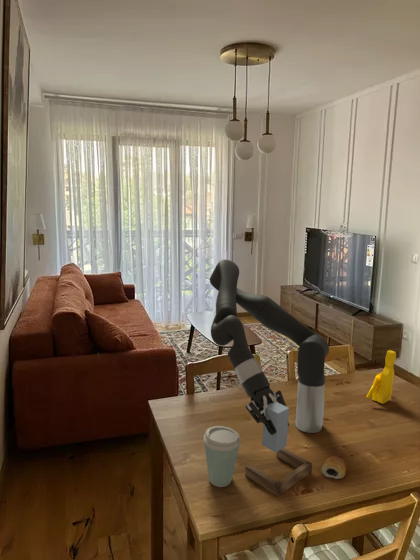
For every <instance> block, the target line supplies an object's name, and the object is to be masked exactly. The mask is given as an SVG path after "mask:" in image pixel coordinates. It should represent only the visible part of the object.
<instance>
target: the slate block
mask: <svg viewBox="0 0 420 560" xmlns="http://www.w3.org/2000/svg"><path fill="white" fill-rule="evenodd" d="M266 409H267V413H268V415H269V418H270V419H269V420H271V421H272V423H273V425H274V427H275V429H276V431H277V433H275V434H273V435H271V434H270V433H269V432H268V430H267V428H266V426H265V425H264V423H262V437H261V438H262V440H261V445H262V446H263V447H265V448H267V449H268V450H270V451H272V452H274V453H277V451H279V450H281V449H282V448H284V449H285V448H286V447H287V445H288V444H287V442H288V430H289V429H288V428H289V426H288V422H289V419H290V417H289V416H290V407H288V406H287V405H286V406H284V405H282V404H280V403H278V402H276V403H271V404H269V405H268V406H267V407H266ZM264 417H265V415H264Z"/></svg>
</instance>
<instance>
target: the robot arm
mask: <svg viewBox="0 0 420 560" xmlns="http://www.w3.org/2000/svg"><path fill="white" fill-rule="evenodd" d="M239 276H240V268H239V266H238V265H237V264H236V263H235V262H234V261H232V260H230V259H221V260H219V261H218V262H217V264H216V266H215V267H214V269H213V271H212V273H211V275H210V277H209V283H210V284H211V286H212V287H213V289H215V290H216V291H217V296H216V302H215V316H214V317H213V320H212V324H211V326H210V337H211V340H212V341H213V342H214V343H215V345H217V346H220V347H223V346H226V345H228V344H230V343H231V342H233V344H232V346H231V348H229V350H228V352H227V358H228V359H229V361H230V363H231V365H232V367H233V369H234V371H235V374H236V376H237V378H238V380H239V382H240V384H241V386H242V388H243V389H244V392H245V394H246V395H247V397H248V398H250V402H248V403H247V404H246V405H245V409H246V410H247V411H248V413H249V414H250V416H251V417H252V419H253V420H254V421H255V422H256V423H257V424H260V423H262V424H263V423H264V425H265V426H266V428H267V430H268V432H269V433H270V434H271V435H273V434H275V433H277V431H276V429H275V427H274V425H273V423H272V421H271V420H269V419H270V418H269V415H268V413H267V409H266V407H267V406H268V405H269V404H271V403H276V402H278V403H280V404H282V405H284V406H286V407H287V404H286V401H285V399H284V395H283V393H282V391H281V390H277V391H273V390H272V389H271V388H270V386H271V383H270V382H269V379H268V378H267V376H266V375H265V373H264V371H263V369H262V367H261V365H260V364H259V363H258V361H257V359H256V358H255V357H254V355H253V354H254V353H252V351H251V348H250V347H249V343H248V340H247V337H246V332H245V328H244V325H243V323H242V321H241V320H240V318H239V317H238V314H237V313H238V310H237V309H238V307H237V305H239V306H240V307H241V308H242V309H243V310H244V311H246V312H247V313H248V314H249V315H251V316H252V317H253V318H254V319H255V320H256V321H258V322H259V323H260V324H262V325H263V326H264V327H265V328H266V329H269V330H271V331H273V332H275V333H277V334H280V335H283V336H284V337H286V338H288V339H290V340H291V341H293V342H294V343H295V344H296V345H297V346H298V351H297V363H296V364H297V365H296V366H297V367H296V368H297V376H298V379H297V393H296V395H297V396H296V410H295V411H296V413H295V427H296V428H297V430H299V431H301V432H304V433H309V434H313V433H314V434H316V433H319V432H321V430H322V427H323V426H324V415H325V414H324V412H325V388H326V387H325V385H326V375H325V361H326V360H325V359H326V358H327V356H329V355H328V354H329V352H330V346H329V343H328V341H327V340H326V339H325V338H324V337H323V336H322V335H320V334H319V333H317V332H316V331H314V330H312V329H310V328H309V327H308V326H306V325H304V324H303V323H302V322H300V320H298V319H296V317H294V316H293V315H292V314H291V313H289V312H288V311H287V310H285V309H284V308H283V307H282V306H281V305H280V304H278V303H277V302H276V301H275V300H273V299H272V298H270V297H269V296H267V295H264V294H257V293H249V292H246V291H243V290H241V289H239V288H238V281H239ZM264 415H265V417H264ZM288 427H290V422H289V421H288Z"/></svg>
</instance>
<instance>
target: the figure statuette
mask: <svg viewBox="0 0 420 560" xmlns="http://www.w3.org/2000/svg"><path fill="white" fill-rule="evenodd" d="M396 357H397V352H396V351H393V350H391V349H389V350H387V352H386V355H385V358H384V359H385V361H384V362H385V365H384V367H383V369H382V371H381V372H379V373H377V374H375V378H374V379H373V380H372V381H373V383H372V385H371V387H370V389H369V391H368V392H367V395H366V396H365V397H366V398H367V399H368V400H370V399H372V401H374V402H377V403H379V404H381V405H383V404H385V403H387V402H388V401H390V400H391V397H392V393H393V382H394V377H395V370H394V365H395V362H396V359H397V358H396ZM371 397H372V398H371Z"/></svg>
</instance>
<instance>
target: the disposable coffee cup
mask: <svg viewBox="0 0 420 560" xmlns="http://www.w3.org/2000/svg"><path fill="white" fill-rule="evenodd" d="M202 436H203V437H202V440H203V444H204V448H205V449H204V451H205V458H206V466H207V467H206V468H207V474H208V479H209V483H210V484H212V485H213V486H215V487H218V488H222V487H224V488H225V487H227V486H229V485H230V484H231V482H232V480H233V477H234V473H235V466H236V462H237V457H238V453H239V449H240V445H241V442H242V440H241V437H240V434H239V432H237V431H236V430H235V429H233V428H232V427H228V426H224V425H213V426H211V427H208V428H207V429H206V430H205V431H204V434H203V435H202Z"/></svg>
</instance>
